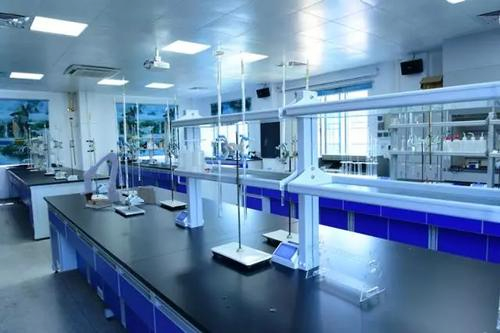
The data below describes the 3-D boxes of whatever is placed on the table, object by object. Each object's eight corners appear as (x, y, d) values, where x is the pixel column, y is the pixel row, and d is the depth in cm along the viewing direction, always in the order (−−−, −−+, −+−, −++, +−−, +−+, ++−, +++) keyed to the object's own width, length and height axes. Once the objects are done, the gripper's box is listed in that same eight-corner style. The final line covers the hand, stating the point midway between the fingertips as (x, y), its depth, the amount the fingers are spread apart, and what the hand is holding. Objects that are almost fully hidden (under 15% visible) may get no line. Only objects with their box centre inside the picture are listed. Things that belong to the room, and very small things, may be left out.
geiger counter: (156, 187, 293) (136, 185, 306) (150, 188, 288) (130, 186, 301) (157, 203, 294) (137, 200, 308) (151, 204, 289) (131, 202, 302)
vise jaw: (99, 201, 298) (98, 198, 298) (105, 202, 293) (105, 199, 293) (86, 204, 288) (85, 200, 288) (92, 205, 283) (92, 201, 283)
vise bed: (101, 203, 299) (100, 198, 298) (112, 205, 290) (112, 199, 290) (85, 206, 287) (85, 201, 286) (97, 208, 278) (96, 202, 278)
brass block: (101, 203, 290) (100, 197, 290) (104, 204, 287) (104, 198, 287) (97, 204, 287) (96, 198, 286) (100, 205, 284) (100, 199, 284)
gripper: (83, 187, 286) (85, 203, 287) (98, 185, 299) (99, 200, 300) (78, 187, 289) (79, 203, 290) (93, 184, 302) (94, 199, 303)
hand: (89, 201), depth 296 cm, fingers closed
